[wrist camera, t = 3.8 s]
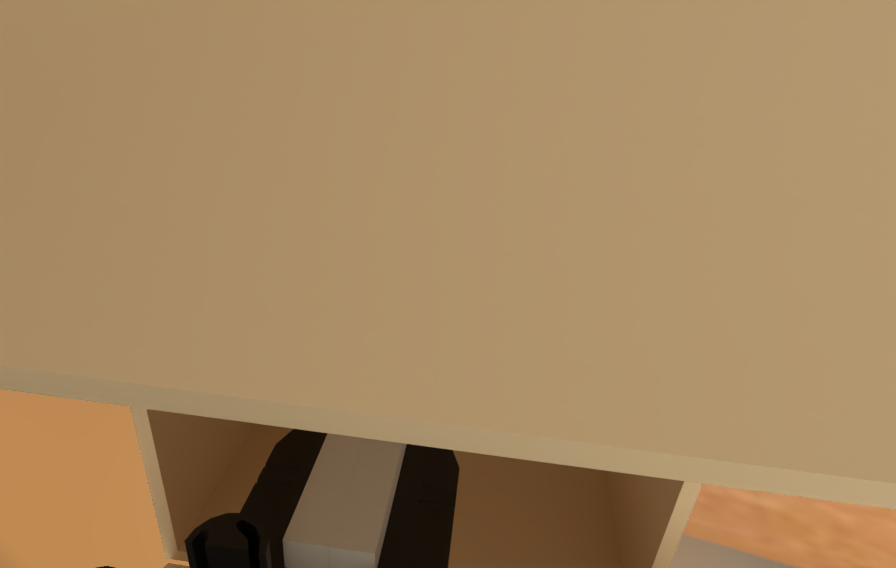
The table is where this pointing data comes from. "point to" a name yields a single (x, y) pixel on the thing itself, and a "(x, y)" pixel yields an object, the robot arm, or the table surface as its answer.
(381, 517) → the robot arm
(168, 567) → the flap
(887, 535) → the table surface
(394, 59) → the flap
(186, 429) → the carton
